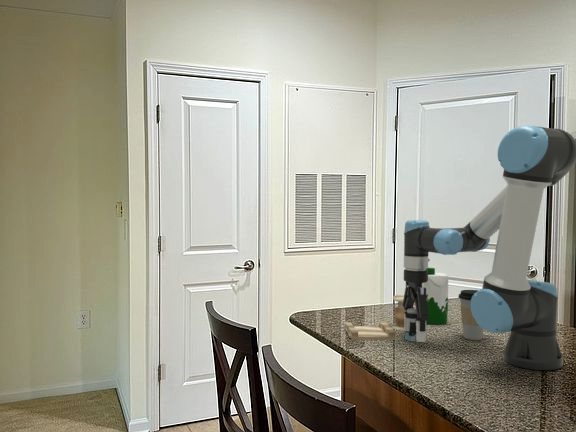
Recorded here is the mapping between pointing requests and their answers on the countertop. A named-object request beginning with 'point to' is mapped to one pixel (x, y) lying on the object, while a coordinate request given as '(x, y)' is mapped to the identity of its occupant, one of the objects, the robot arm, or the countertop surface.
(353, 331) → the terminal board
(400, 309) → the bobbin
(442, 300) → the milk carton
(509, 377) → the countertop surface
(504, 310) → the robot arm
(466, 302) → the coffee cup
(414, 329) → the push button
